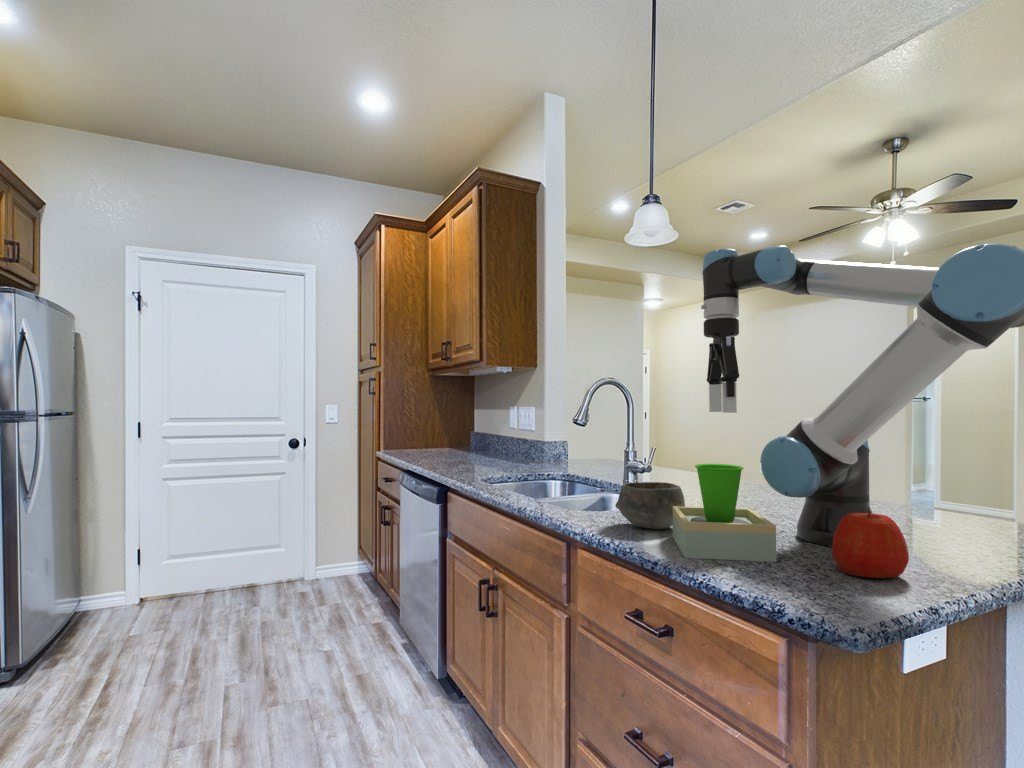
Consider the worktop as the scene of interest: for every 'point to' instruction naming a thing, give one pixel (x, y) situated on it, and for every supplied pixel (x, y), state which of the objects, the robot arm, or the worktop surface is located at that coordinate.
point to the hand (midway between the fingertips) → (722, 412)
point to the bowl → (650, 503)
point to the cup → (719, 490)
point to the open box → (724, 535)
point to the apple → (869, 546)
